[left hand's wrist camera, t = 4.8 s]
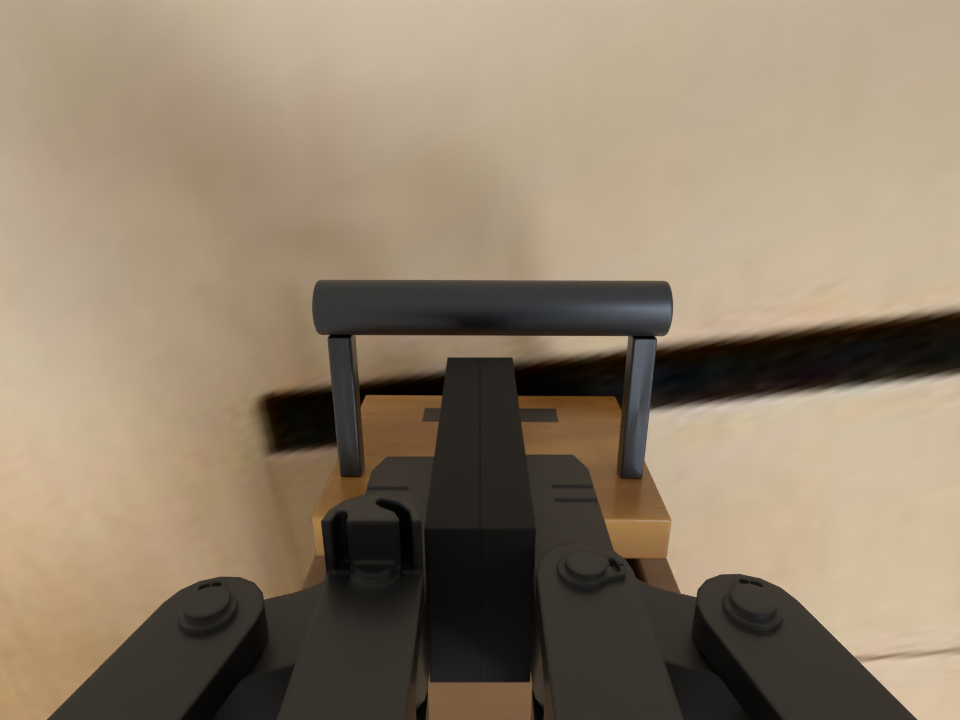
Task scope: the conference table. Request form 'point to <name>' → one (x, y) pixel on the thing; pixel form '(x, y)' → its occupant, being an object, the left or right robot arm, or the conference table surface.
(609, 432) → the drawer
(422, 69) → the conference table surface
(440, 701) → the cabinet
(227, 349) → the conference table surface
